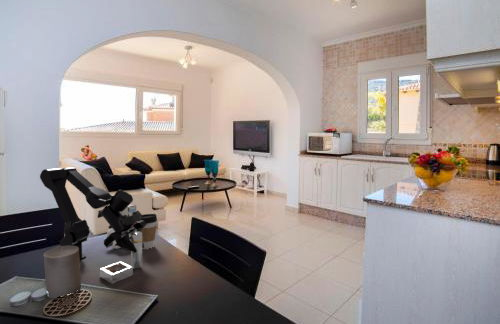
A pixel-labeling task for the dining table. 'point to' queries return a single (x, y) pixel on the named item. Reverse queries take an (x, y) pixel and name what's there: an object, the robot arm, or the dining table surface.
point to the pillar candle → (62, 270)
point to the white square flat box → (116, 272)
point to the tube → (137, 242)
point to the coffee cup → (149, 230)
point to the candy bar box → (129, 210)
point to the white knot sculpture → (114, 241)
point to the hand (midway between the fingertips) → (139, 249)
